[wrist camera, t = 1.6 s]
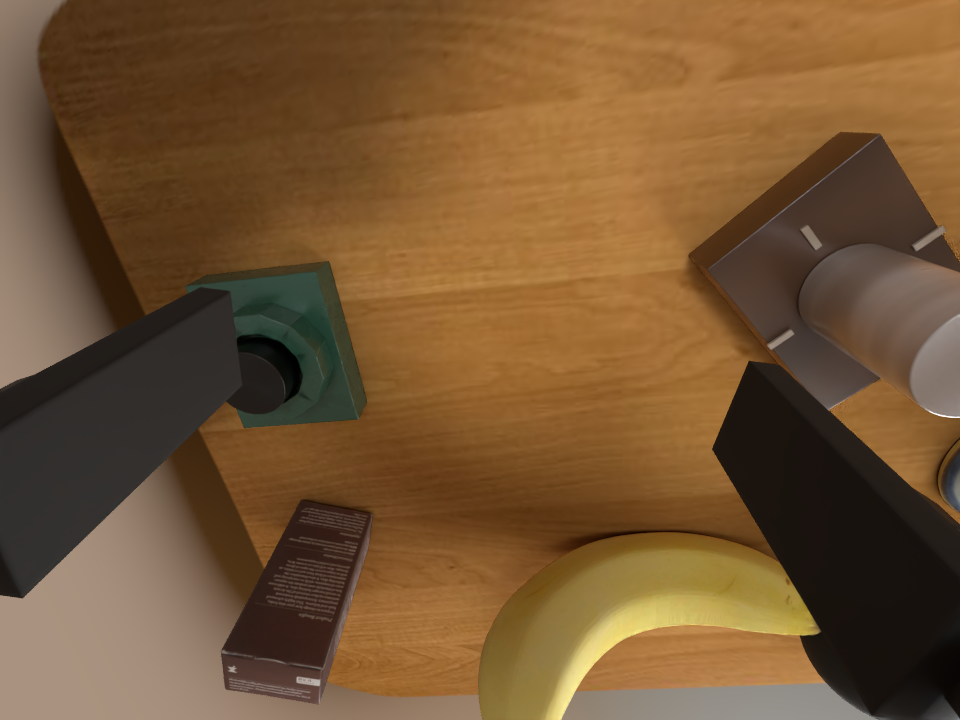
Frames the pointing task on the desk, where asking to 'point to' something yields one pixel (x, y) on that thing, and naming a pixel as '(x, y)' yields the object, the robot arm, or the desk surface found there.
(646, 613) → the banana
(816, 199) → the dial panel
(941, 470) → the apothecary jar
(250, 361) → the button
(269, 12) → the desk surface
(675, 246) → the desk surface
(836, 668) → the decorative ball
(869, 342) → the dial
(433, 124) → the desk surface
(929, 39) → the desk surface
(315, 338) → the button box
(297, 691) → the box
